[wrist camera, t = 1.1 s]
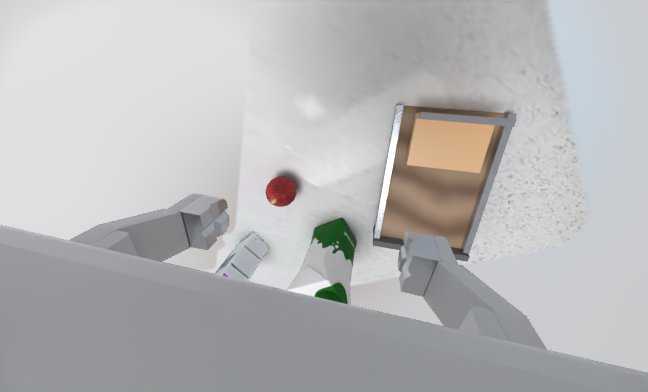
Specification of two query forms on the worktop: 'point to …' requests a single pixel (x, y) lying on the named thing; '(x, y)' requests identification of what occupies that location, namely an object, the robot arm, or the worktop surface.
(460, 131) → the cart
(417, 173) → the dock
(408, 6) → the worktop surface
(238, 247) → the syrup box
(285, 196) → the onion
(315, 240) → the milk carton
